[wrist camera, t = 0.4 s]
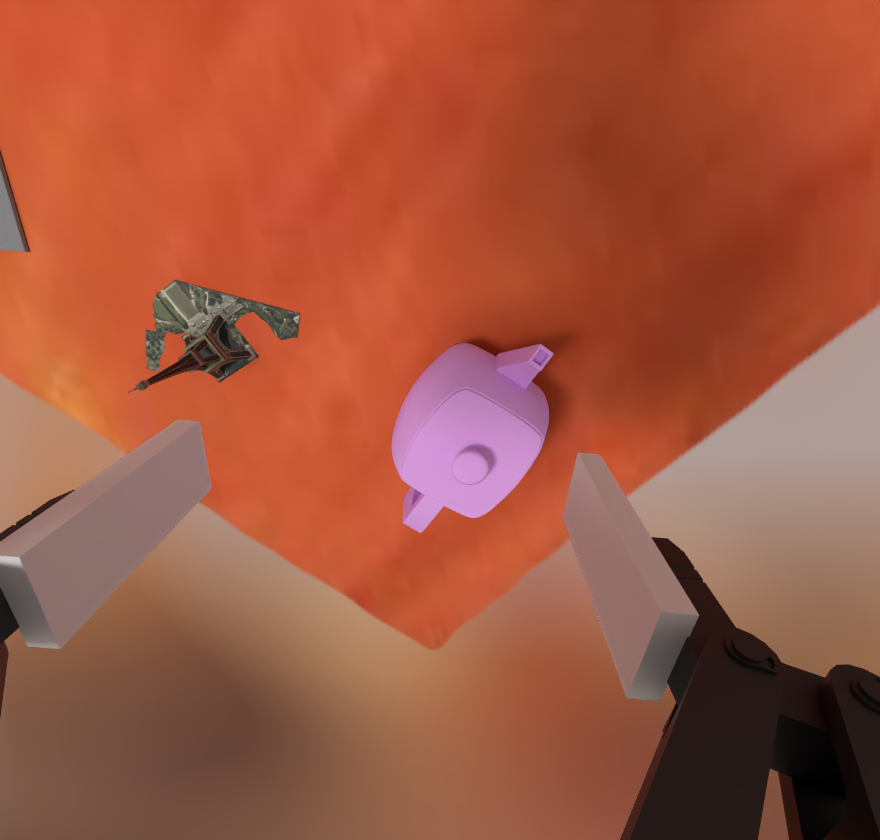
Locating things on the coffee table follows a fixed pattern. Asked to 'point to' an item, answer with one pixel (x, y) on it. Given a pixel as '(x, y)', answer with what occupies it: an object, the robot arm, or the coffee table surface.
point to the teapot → (469, 430)
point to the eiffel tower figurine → (208, 330)
